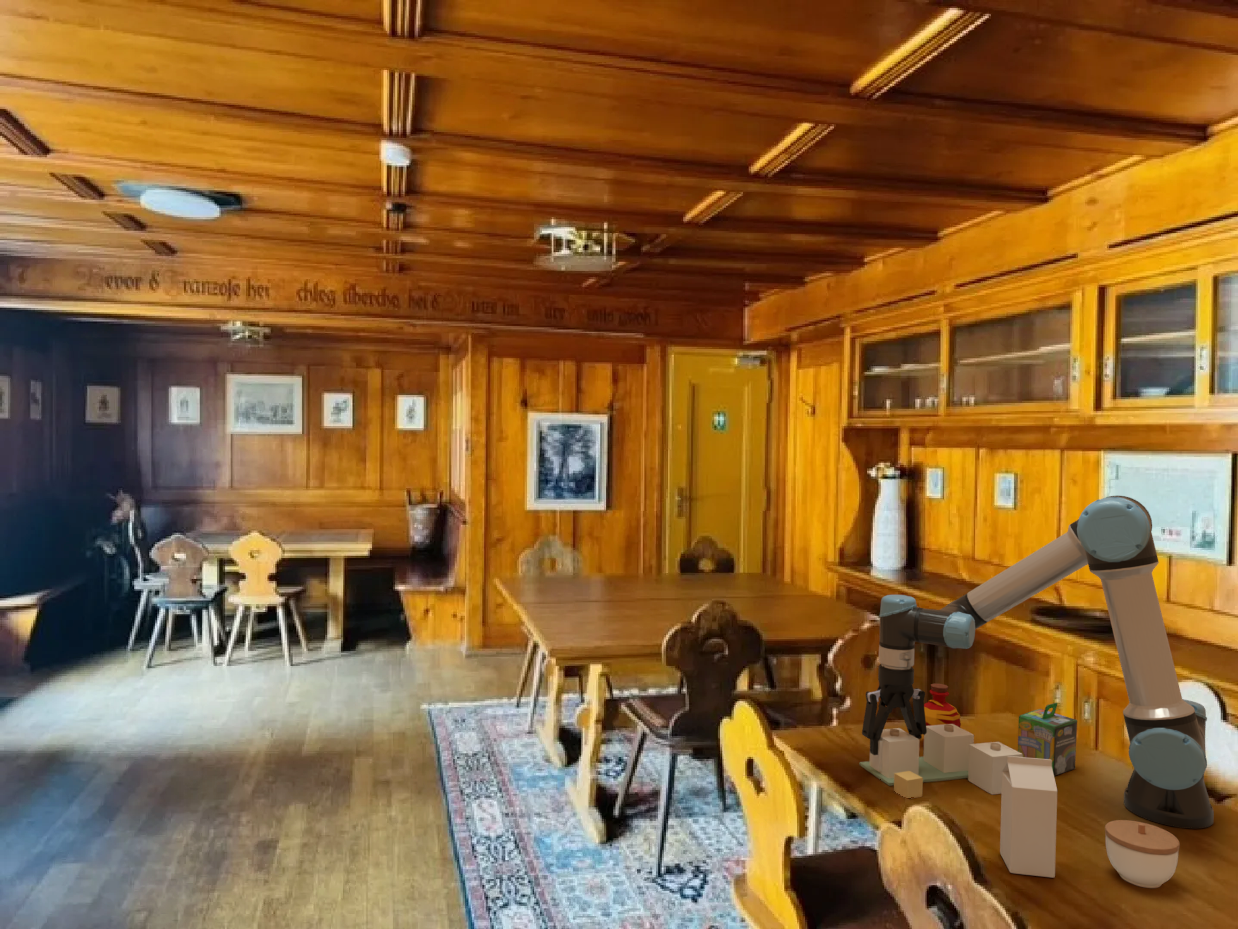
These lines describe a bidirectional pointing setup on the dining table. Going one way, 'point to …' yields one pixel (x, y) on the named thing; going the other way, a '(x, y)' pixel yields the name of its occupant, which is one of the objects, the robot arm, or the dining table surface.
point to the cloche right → (989, 765)
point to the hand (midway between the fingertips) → (893, 767)
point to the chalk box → (1048, 738)
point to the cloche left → (898, 752)
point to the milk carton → (1028, 816)
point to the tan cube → (908, 784)
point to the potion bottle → (940, 708)
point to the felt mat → (925, 772)
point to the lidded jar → (1141, 852)
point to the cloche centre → (947, 747)
